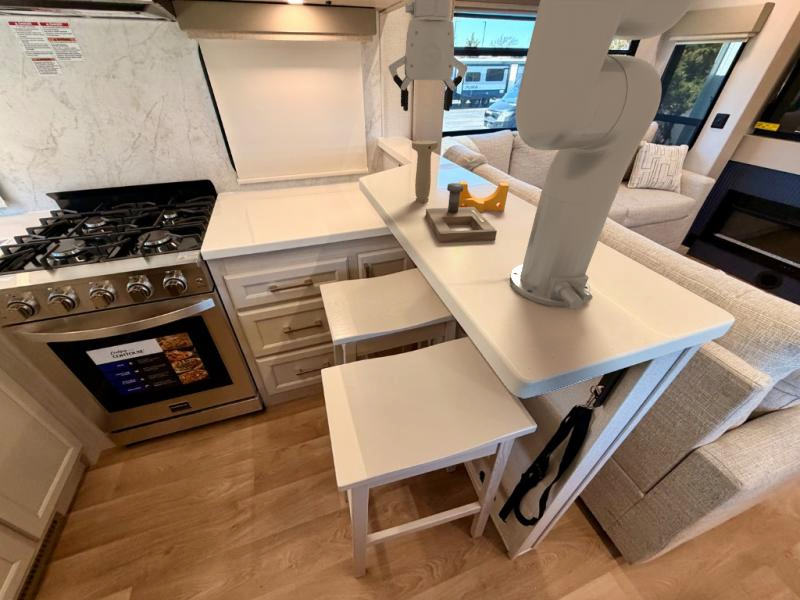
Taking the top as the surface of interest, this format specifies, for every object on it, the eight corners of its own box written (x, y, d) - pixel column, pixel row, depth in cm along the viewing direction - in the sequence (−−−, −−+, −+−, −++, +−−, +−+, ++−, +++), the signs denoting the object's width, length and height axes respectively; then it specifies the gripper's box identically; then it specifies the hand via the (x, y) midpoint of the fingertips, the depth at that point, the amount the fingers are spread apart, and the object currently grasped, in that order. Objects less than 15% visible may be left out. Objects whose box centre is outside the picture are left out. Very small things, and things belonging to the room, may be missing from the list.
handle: (407, 202, 88) (408, 141, 80) (427, 199, 91) (431, 139, 82) (415, 207, 85) (418, 144, 76) (436, 204, 87) (441, 142, 79)
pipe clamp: (457, 212, 83) (460, 186, 79) (456, 206, 87) (459, 181, 83) (505, 213, 82) (510, 187, 79) (502, 208, 86) (507, 182, 82)
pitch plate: (495, 240, 69) (502, 202, 64) (439, 242, 67) (442, 204, 63) (473, 214, 81) (477, 181, 76) (425, 216, 80) (427, 183, 75)
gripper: (390, 8, 62) (390, 112, 72) (478, 11, 64) (467, 112, 74) (386, 13, 68) (387, 108, 78) (467, 16, 70) (457, 109, 80)
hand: (426, 110), depth 76 cm, fingers open, 9 cm apart
